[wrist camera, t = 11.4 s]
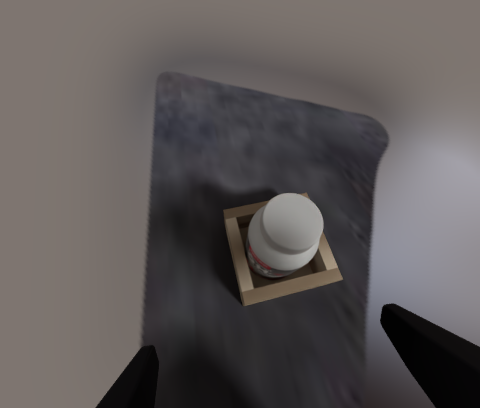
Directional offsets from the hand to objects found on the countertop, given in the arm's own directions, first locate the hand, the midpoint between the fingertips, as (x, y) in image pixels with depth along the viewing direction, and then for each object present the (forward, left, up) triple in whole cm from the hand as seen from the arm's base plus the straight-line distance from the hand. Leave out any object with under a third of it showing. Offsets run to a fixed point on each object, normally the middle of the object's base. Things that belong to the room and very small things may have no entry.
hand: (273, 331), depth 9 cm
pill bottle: (+5, -3, -13) cm, 15 cm away
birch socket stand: (+6, -4, -14) cm, 15 cm away
